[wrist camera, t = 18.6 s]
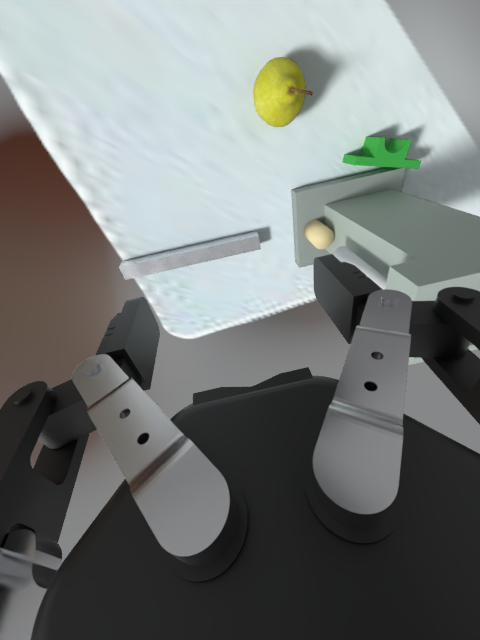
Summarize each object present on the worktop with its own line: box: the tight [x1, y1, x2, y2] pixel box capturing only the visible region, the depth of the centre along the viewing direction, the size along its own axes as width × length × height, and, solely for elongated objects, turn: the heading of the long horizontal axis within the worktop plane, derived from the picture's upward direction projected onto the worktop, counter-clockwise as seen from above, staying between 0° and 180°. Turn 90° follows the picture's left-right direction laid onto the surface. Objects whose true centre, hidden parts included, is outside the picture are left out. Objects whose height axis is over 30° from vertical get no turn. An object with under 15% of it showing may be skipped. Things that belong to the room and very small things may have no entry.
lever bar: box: [119, 231, 261, 280], centre depth 49 cm, size 3×26×3 cm, turn 100°
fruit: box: [254, 57, 312, 127], centre depth 33 cm, size 7×7×12 cm
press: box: [292, 167, 480, 365], centre depth 36 cm, size 14×19×35 cm
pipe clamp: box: [343, 137, 421, 169], centre depth 42 cm, size 11×4×5 cm, turn 87°
